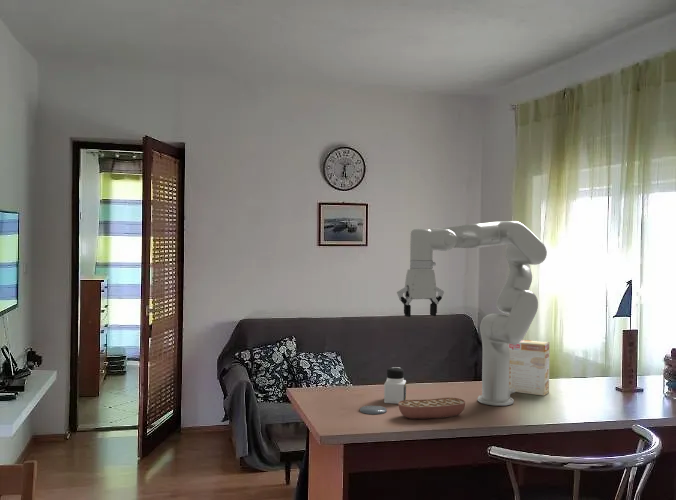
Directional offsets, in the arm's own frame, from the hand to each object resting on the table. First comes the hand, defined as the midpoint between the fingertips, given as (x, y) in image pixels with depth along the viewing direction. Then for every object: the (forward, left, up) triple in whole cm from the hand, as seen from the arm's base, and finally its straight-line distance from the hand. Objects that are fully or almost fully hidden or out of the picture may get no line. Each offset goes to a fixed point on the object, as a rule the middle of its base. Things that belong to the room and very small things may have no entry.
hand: (420, 316), depth 221 cm
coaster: (+11, -11, -33) cm, 36 cm away
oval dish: (+1, +7, -33) cm, 34 cm away
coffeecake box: (-53, +8, -33) cm, 63 cm away
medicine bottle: (-4, -15, -33) cm, 36 cm away
